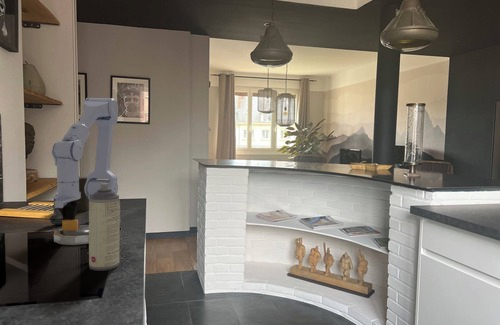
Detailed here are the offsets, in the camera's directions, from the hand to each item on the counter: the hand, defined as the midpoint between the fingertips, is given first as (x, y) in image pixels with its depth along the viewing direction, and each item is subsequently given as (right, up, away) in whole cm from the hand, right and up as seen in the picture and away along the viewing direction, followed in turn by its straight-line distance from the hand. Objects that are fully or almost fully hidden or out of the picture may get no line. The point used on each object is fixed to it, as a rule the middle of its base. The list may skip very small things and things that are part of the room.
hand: (69, 226), depth 106 cm
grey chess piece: (-11, -3, +14) cm, 18 cm away
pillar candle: (-18, -1, +42) cm, 45 cm away
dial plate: (+4, -4, 0) cm, 5 cm away
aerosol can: (+18, -6, -19) cm, 27 cm away
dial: (+4, -3, 0) cm, 5 cm away
